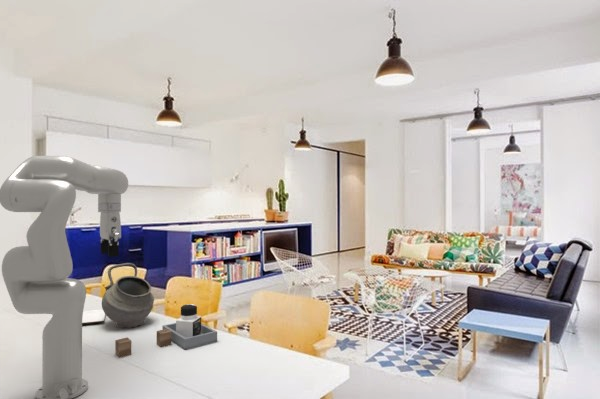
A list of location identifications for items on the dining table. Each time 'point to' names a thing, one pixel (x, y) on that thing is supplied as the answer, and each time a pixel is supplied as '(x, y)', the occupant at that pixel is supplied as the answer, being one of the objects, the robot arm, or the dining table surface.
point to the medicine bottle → (189, 321)
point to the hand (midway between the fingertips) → (109, 255)
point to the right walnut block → (164, 337)
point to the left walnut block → (123, 347)
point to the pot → (127, 299)
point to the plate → (93, 316)
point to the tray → (195, 341)
